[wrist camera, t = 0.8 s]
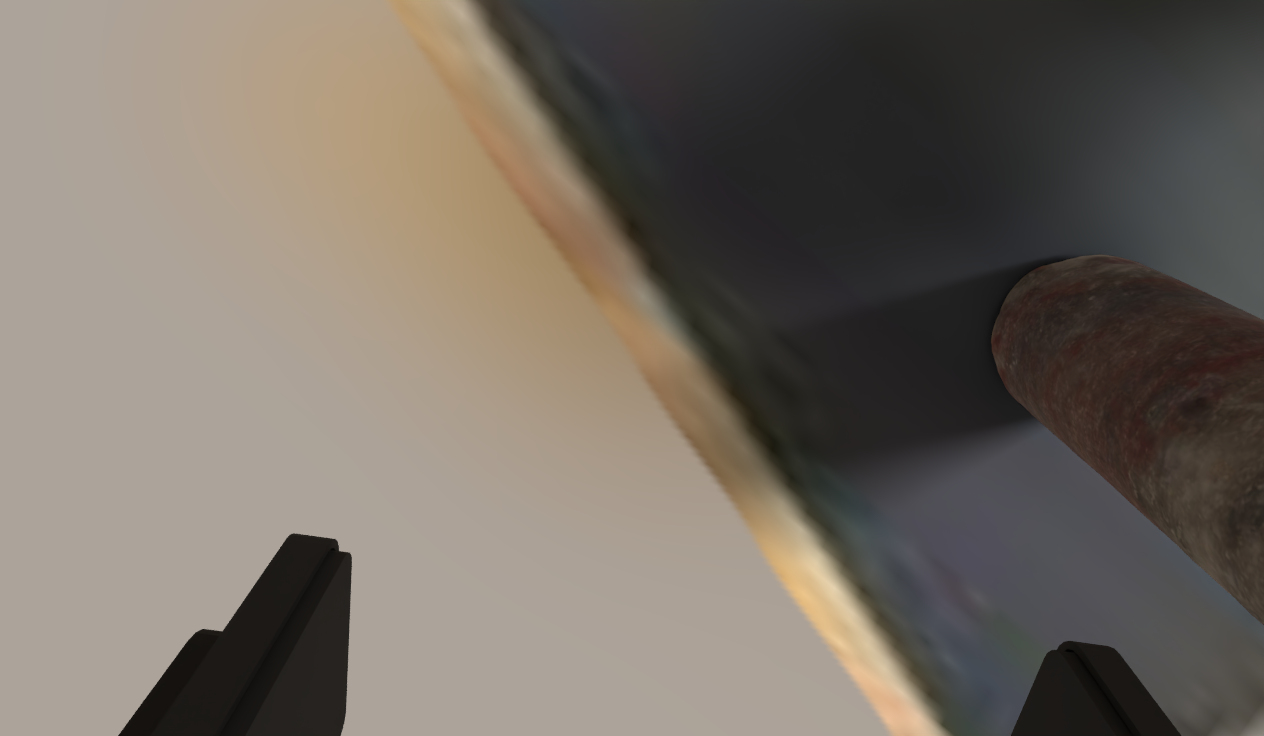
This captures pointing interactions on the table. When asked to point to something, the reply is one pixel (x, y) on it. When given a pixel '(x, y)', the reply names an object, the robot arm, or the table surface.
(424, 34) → the table surface
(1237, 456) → the candle
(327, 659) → the robot arm
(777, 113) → the table surface
